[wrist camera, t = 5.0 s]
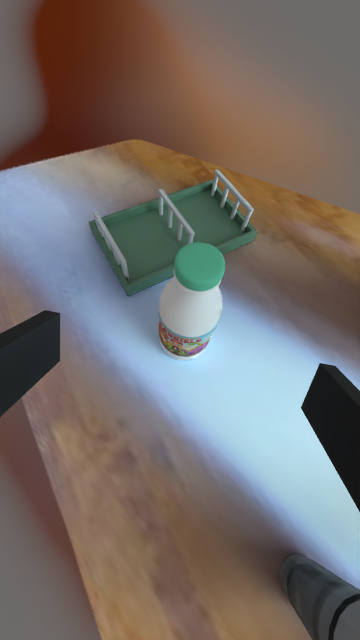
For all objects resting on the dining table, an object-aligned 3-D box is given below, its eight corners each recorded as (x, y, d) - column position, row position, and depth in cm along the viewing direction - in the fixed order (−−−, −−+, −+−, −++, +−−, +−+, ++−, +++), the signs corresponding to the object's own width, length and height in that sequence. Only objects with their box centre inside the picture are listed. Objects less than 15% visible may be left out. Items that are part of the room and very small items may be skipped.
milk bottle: (163, 313, 42) (165, 221, 24) (209, 320, 42) (245, 234, 24) (155, 357, 39) (148, 290, 21) (204, 365, 39) (242, 305, 21)
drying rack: (209, 189, 55) (215, 161, 49) (253, 241, 50) (265, 215, 44) (92, 231, 48) (82, 204, 42) (128, 296, 43) (122, 275, 37)
